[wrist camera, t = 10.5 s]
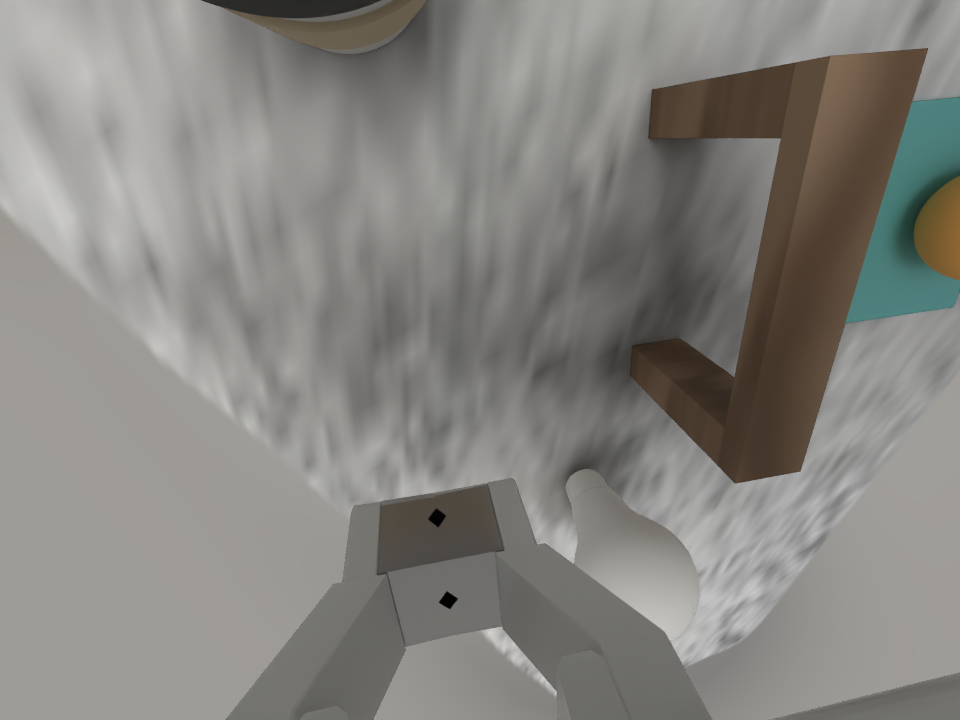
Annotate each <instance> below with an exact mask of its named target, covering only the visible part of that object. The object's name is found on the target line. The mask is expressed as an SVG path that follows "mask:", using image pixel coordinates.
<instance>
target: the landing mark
mask: <svg viewBox="0 0 960 720" xmlns="http://www.w3.org/2000/svg"><path fill="white" fill-rule="evenodd" d="M958 176H960V97H957V98H946V99H936V100H925V101H914V102H912V104H911V107H910V110H909V114H908V117H907V120H906V124H905V127H904V130H903V133H902V137H901V140H900V143H899V147H898V150H897V153H896V157H895V160H894V163H893V167H892V170H891V173H890V177H889V180H888V183H887V186H886V190H885V193H884V196H883V200H882V203H881V206H880V210H879V213H878V216H877V220H876V223H875V226H874V230H873V233H872V236H871V239H870V243H869V246H868V249H867V253H866V256H865V259H864V263H863V266H862V269H861V273H860V276H859V279H858V283H857V286H856V289H855V293H854V296H853V299H852V302H851V306H850V309H849V312H848V316H847V319H846V322H845V323H851V322H858V321H864V320H871V319H878V318H884V317H891V316H898V315H904V314H911V313H918V312H924V311H931V310H938V309H945V308H951V307H953V306H954V304H955V302H956V299H957V297H958V294H959V292H960V280H956V279H952V278H949V277H946V276H944V275H942V274H940V273H938V272H936V271H935V270H933V269H932V268H930V267H929V266H928V265H927V264H926V263H925V262H924V261H923V260H922V258H921V257H920V256H919V254H918V252H917V250H916V247H915V244H914V236H913V234H914V226H915V222H916V219H917V217H918V215H919V213H920V211H921V209H922V208H923V206H924V205H925V203H926V202H927V201H928V200H929V199H930V197H931V196H932V195H933V194H934V193H935V192H937V191H938V190H939V189H940V188H941V187H943V186H944V185H945V184H947V183H948V182H949V181H951V180H953V179H955V178H956V177H958Z"/></svg>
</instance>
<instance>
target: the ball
mask: <svg viewBox="0 0 960 720" xmlns="http://www.w3.org/2000/svg"><path fill="white" fill-rule="evenodd" d="M913 236H914V244H915V247H916V250H917V252H918V254H919V256H920V257H921V258H922V260H923V261H924V262H925V263H926V264H927V265H928V266H929V267H930V268H932V269H933V270H935V271H936V272H938V273H940V274H942V275H944V276H946V277H949V278H952V279H956V280H960V176H958V177H956V178H955V179H953V180H951V181H949V182H948V183H947V184H945V185H944V186H943V187H941V188H940V189H939V190H938V191H937V192H935V193H934V194H933V195H932V196H931V197H930V199H929V200H928V201H927V202H926V203H925V205H924V206H923V208H922V209H921V211H920V213H919V215H918V217H917V219H916V222H915V226H914V234H913Z"/></svg>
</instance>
